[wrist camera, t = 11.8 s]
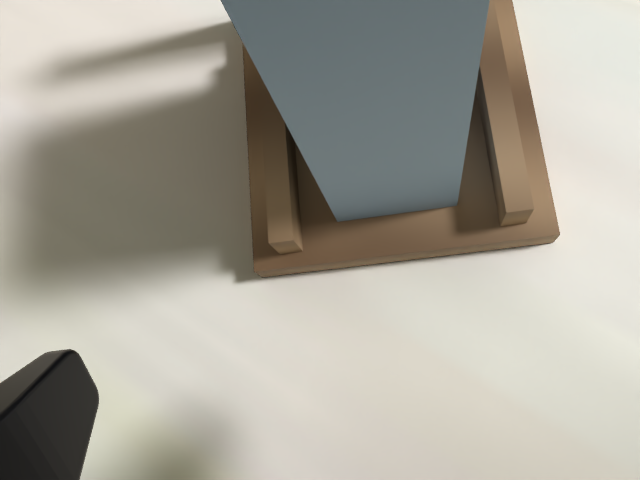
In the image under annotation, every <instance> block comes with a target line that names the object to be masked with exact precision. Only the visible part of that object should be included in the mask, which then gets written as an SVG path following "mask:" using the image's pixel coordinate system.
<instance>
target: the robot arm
mask: <svg viewBox="0 0 640 480" xmlns="http://www.w3.org/2000/svg"><path fill="white" fill-rule="evenodd" d="M98 404H99V394H98V390H97V387H96V385H95V383H94V381H93V379H92V378H91V376H90V374H89V372H88V370H87V368H86V366H85V364H84V362H83V360H82V359H81V357H80V355H79V354H78V353H77V352H76V351H74V350H71V349H67V350H59V351H51V352H47V353H44V354H43V355H41V356H40V357H38V358H37V359H35V360H34V361H32V362H31V363H29V364H28V365H26V366H25V367H23V368H22V369H20V370H19V371H18V372H16V373H15V374H13V375H12V376H10V377H9V378H7V379H6V380H4V381H3V382H1V383H0V480H80V476H81V472H82V468H83V464H84V460H85V456H86V452H87V448H88V444H89V440H90V437H91V433H92V429H93V425H94V421H95V417H96V413H97V409H98Z"/></svg>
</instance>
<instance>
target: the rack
mask: <svg viewBox="0 0 640 480" xmlns="http://www.w3.org/2000/svg"><path fill="white" fill-rule="evenodd" d="M243 61H244V81H245V101H246V121H247V141H248V160H249V180H250V200H251V220H252V240H253V260H254V272H255V273H257V274H258V275H259V276H261V277H270V276H278V275H287V274H295V273H303V272H312V271H320V270H328V269H337V268H345V267H353V266H362V265H370V264H378V263H387V262H395V261H404V260H412V259H420V258H429V257H437V256H445V255H454V254H462V253H470V252H479V251H487V250H495V249H504V248H512V247H520V246H529V245H537V244H546V243H553V242H554V241H555V240H556V239H557V238H558V236H559V235H560V232H559V227H558V222H557V217H556V212H555V207H554V202H553V198H552V193H551V188H550V183H549V178H548V173H547V168H546V163H545V159H544V154H543V149H542V144H541V139H540V134H539V129H538V124H537V119H536V115H535V110H534V105H533V100H532V95H531V90H530V85H529V80H528V75H527V71H526V66H525V61H524V56H523V51H522V46H521V41H520V36H519V31H518V27H517V22H516V17H515V12H514V7H513V2H512V0H490V2H489V8H488V14H487V21H486V27H485V33H484V40H483V46H482V52H481V58H480V65H479V71H478V77H477V84H476V90H475V96H474V102H473V109H472V115H471V121H470V128H469V134H468V140H467V146H466V153H465V159H464V165H463V172H462V178H461V184H460V190H459V197H458V203H457V206H451V207H444V208H436V209H429V210H422V211H414V212H407V213H400V214H392V215H385V216H377V217H370V218H363V219H355V220H348V221H340V222H337V220H336V218H335V216H334V214H333V212H332V211H331V209H330V207H329V205H328V203H327V201H326V199H325V197H324V195H323V194H322V192H321V190H320V188H319V186H318V184H317V182H316V180H315V178H314V176H313V175H312V173H311V171H310V169H309V167H308V165H307V163H306V161H305V159H304V158H303V156H302V154H301V152H300V150H299V148H298V146H297V144H296V142H295V140H294V139H293V137H292V135H291V133H290V131H289V129H288V127H287V125H286V123H285V121H284V120H283V118H282V116H281V114H280V112H279V110H278V108H277V106H276V104H275V103H274V101H273V99H272V97H271V95H270V93H269V91H268V89H267V87H266V85H265V84H264V82H263V80H262V78H261V76H260V74H259V72H258V70H257V68H256V66H255V65H254V63H253V61H252V59H251V57H250V55H249V53H248V51H247V49H246V48H245V46H244V44H243Z"/></svg>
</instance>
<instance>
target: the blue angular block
mask: <svg viewBox="0 0 640 480" xmlns="http://www.w3.org/2000/svg"><path fill="white" fill-rule="evenodd" d="M221 2H222V4H223V6H224V8H225V10H226V11H227V13H228V15H229V17H230V19H231V21H232V23H233V25H234V27H235V29H236V30H237V32H238V34H239V36H240V38H241V40H242V42H243V44H244V46H245V48H246V49H247V51H248V53H249V55H250V57H251V59H252V61H253V63H254V65H255V66H256V68H257V70H258V72H259V74H260V76H261V78H262V80H263V82H264V84H265V85H266V87H267V89H268V91H269V93H270V95H271V97H272V99H273V101H274V103H275V104H276V106H277V108H278V110H279V112H280V114H281V116H282V118H283V120H284V121H285V123H286V125H287V127H288V129H289V131H290V133H291V135H292V137H293V139H294V140H295V142H296V144H297V146H298V148H299V150H300V152H301V154H302V156H303V158H304V159H305V161H306V163H307V165H308V167H309V169H310V171H311V173H312V175H313V176H314V178H315V180H316V182H317V184H318V186H319V188H320V190H321V192H322V194H323V195H324V197H325V199H326V201H327V203H328V205H329V207H330V209H331V211H332V212H333V214H334V216H335V218H336V220H337V222H340V221H348V220H355V219H363V218H370V217H377V216H385V215H392V214H400V213H407V212H414V211H422V210H429V209H436V208H444V207H451V206H457V203H458V197H459V190H460V184H461V178H462V172H463V165H464V159H465V153H466V146H467V140H468V134H469V128H470V121H471V115H472V109H473V102H474V96H475V90H476V84H477V77H478V71H479V65H480V58H481V52H482V46H483V40H484V33H485V27H486V21H487V14H488V8H489V2H490V0H221Z"/></svg>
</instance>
